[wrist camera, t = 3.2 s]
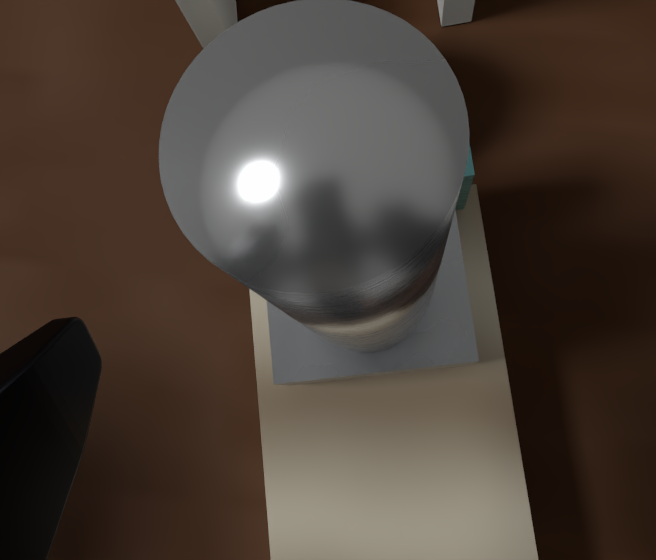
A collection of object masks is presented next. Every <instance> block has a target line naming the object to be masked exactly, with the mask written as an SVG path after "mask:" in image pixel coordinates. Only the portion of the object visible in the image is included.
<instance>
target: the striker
mask: <svg viewBox="0 0 656 560" xmlns="http://www.w3.org/2000/svg"><path fill="white" fill-rule="evenodd" d="M469 134H470V133H469V122H468V113H467V109H466V105H465V101H464V96H463V93H462V91H461V88H460V86H459V83H458V81H457V78H456V76H455V75H454V73H453V71H452V69H451V68H450V66H449V64H448V62H447V61H446V59H445V58H444V57H443V56H442V54H441V53H440V52H439V50H438V49H437V48H436V47H435V45H434V44H432V43H431V42H430V41H429V40H428V39H427V38H426V37H425V36H424V35H423V34H422V33H421V32H420V31H418V30H417V29H416V28H414V27H413V26H411V25H410V24H409V23H407V22H406V21H404V20H402V19H401V18H399V17H397V16H395V15H393V14H391V13H389V12H387V11H384V10H382V9H379V8H377V7H374V6H371V5H368V4H364V3H359V2H355V1H350V0H298V1H292V2H288V3H284V4H279V5H275V6H273V7H270V8H267V9H264V10H262V11H259V12H257V13H255V14H253V15H251V16H249V17H247V18H245V19H243V20H241V21H239V22H237V23H236V24H234V25H233V26H231V27H230V28H228V29H227V30H225V31H224V32H222V33H221V34H220V35H219V36H218V37H216V38H215V39H214V40H213V41H212V42H210V43H209V44H208V45H207V46H206V47H205V48H204V49H203V50H202V51H201V52H200V53H199V55H198V56H197V57H196V58H195V59H194V60H193V62H192V63H191V64H190V66H189V67H188V68H187V70H186V71H185V72H184V74H183V76H182V77H181V79H180V81H179V82H178V84H177V86H176V88H175V89H174V92H173V94H172V96H171V99H170V101H169V103H168V106H167V109H166V112H165V116H164V119H163V123H162V128H161V134H160V141H159V168H160V176H161V182H162V186H163V190H164V194H165V198H166V200H167V203H168V205H169V208H170V210H171V212H172V215H173V217H174V219H175V220H176V222H177V224H178V225H179V227H180V229H181V230H182V232H183V233H184V235H185V236H186V237H187V238H188V240H189V241H190V242H191V243H192V245H193V246H194V247H195V248H196V249H197V250H198V251H199V252H200V253H201V254H202V255H204V256H205V257H206V258H207V259H208V260H209V261H210V262H212V263H213V264H215V265H216V266H217V267H219V268H220V269H222V270H223V271H225V272H226V273H228V274H229V275H230V276H232V277H233V278H235V279H236V280H238V281H239V282H241V283H242V284H244V285H245V286H246V287H248V288H249V289H251V290H252V291H254V292H255V293H257V294H258V295H260V296H261V297H262V298H264V299H265V300H267V312H268V323H269V335H270V347H271V359H272V370H273V382H274V384H276V385H287V386H291V385H300V384H309V383H318V382H327V381H336V380H345V379H354V378H363V377H372V376H381V375H390V374H399V373H408V372H417V371H426V370H435V369H444V368H453V367H462V366H470V365H472V364H474V363H477V362H479V357H478V351H477V345H476V338H475V332H474V326H473V319H472V313H471V306H470V300H469V294H468V287H467V281H466V275H465V268H464V262H463V255H462V249H461V243H460V236H459V230H458V223H457V217H456V211H455V210H462V209H464V208H465V205H466V201H467V198H468V195H469V192H470V188H471V185H472V182H473V179H474V176H475V174H474V167H473V161H472V155H471V149H470V143H469Z"/></svg>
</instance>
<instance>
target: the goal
mask: <svg viewBox="0 0 656 560" xmlns="http://www.w3.org/2000/svg"><path fill="white" fill-rule="evenodd" d="M175 1H176V2H177V4H178V6H179V8H180V9H181V11H182V13H183V14H184V16H185V18H186V20H187V21H188V23H189V25H190V26H191V28H192V30H193V32H194V33H195V35H196V37H197V38H198V40H199V42H200V44H201V45H202V47H203V49H204V48H205V47H206V46H207V45H208V44H209V43H210V42H212V41H213V40H214V39H215V38H216V37H218V36H219V35H220V34H221V33H222V32H224V31H225V30H227V29H228V28H230V27H231V26H233V25H234V24H236V23H237V22H238V20H237V7H236V0H175ZM437 2H438V9H439V15H440V21H441V27H443V26H449V25H454V24H460V23H466V22H471V20H472V15H473V9H474V3H475V0H437Z"/></svg>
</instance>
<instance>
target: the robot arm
mask: <svg viewBox="0 0 656 560" xmlns="http://www.w3.org/2000/svg"><path fill="white" fill-rule="evenodd" d="M101 369H102V361H101V357H100V354H99V352H98V350H97V347H96V345H95V343H94V341H93V339H92V337H91V335H90V333H89V331H88V329H87V327H86V325H85V323H84V322H83V321H82V320H81V319H80V318H77V317H70V318H61V319H55V320H52V321H50V322H48V323H47V324H45V325H44V326H42V327H41V328H39V329H38V330H36V331H35V332H33V333H32V334H30V335H28V336H27V337H25V338H24V339H22V340H21V341H19V342H18V343H16V344H15V345H13V346H12V347H10V348H9V349H7V350H6V351H4V352H2V353H1V354H0V560H47V558H48V555H49V552H50V549H51V546H52V543H53V540H54V537H55V534H56V531H57V528H58V525H59V522H60V520H61V517H62V514H63V511H64V508H65V505H66V502H67V499H68V496H69V493H70V490H71V487H72V484H73V481H74V478H75V475H76V472H77V469H78V467H79V463H80V460H81V457H82V454H83V450H84V446H85V442H86V438H87V434H88V429H89V425H90V420H91V416H92V411H93V407H94V402H95V397H96V393H97V388H98V384H99V379H100V375H101Z"/></svg>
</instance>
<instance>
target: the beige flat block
mask: <svg viewBox="0 0 656 560" xmlns="http://www.w3.org/2000/svg"><path fill="white" fill-rule="evenodd" d="M455 211H456V217H457V223H458V230H459V236H460V243H461V249H462V255H463V262H464V268H465V275H466V281H467V287H468V294H469V300H470V306H471V313H472V319H473V326H474V332H475V338H476V345H477V351H478V357H479V362H477V363H474V364H472V365H470V366H462V367H453V368H444V369H435V370H426V371H417V372H408V373H399V374H390V375H381V376H372V377H363V378H354V379H345V380H336V381H327V382H318V383H309V384H300V385H291V386H287V385H276V384H274V382H273V370H272V359H271V347H270V335H269V323H268V312H267V300H265V299H264V298H262V297H261V296H260V295H258V294H257V293H255V292H254V291H252V290H251V289H250V302H251V314H252V327H253V340H254V352H255V365H256V378H257V390H258V403H259V415H260V428H261V441H262V453H263V466H264V479H265V491H266V504H267V516H268V529H269V542H270V554H271V560H538V554H537V548H536V542H535V536H534V530H533V524H532V518H531V512H530V506H529V500H528V494H527V488H526V482H525V476H524V470H523V464H522V457H521V451H520V445H519V439H518V433H517V427H516V421H515V415H514V409H513V403H512V397H511V391H510V385H509V379H508V373H507V367H506V361H505V355H504V349H503V343H502V337H501V331H500V325H499V319H498V313H497V307H496V301H495V295H494V289H493V283H492V277H491V271H490V264H489V258H488V252H487V246H486V240H485V234H484V228H483V222H482V216H481V210H480V204H479V198H478V192H477V186H476V184H473V185H471V188H470V192H469V195H468V198H467V201H466V205H465V208H464V209H462V210H455Z"/></svg>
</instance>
